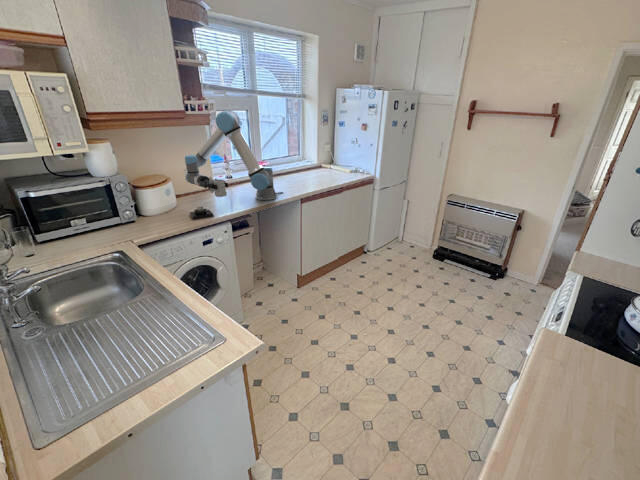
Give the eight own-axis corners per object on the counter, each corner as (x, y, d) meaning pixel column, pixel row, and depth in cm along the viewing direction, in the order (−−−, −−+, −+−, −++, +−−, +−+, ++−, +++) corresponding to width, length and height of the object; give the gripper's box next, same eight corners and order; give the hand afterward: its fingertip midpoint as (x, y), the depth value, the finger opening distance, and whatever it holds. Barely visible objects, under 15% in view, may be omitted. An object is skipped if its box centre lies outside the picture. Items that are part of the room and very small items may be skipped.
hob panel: (209, 212, 210) (208, 206, 208) (213, 216, 202) (212, 210, 201) (190, 215, 204) (189, 209, 202) (193, 220, 196) (192, 213, 195)
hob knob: (203, 209, 204) (203, 206, 204) (205, 211, 201) (204, 208, 200) (196, 210, 202) (195, 207, 201) (197, 212, 199) (197, 209, 198)
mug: (222, 197, 206) (219, 178, 200) (206, 196, 208) (203, 177, 203) (229, 194, 212) (226, 176, 207) (213, 193, 215) (210, 175, 210)
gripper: (216, 183, 227) (236, 189, 214) (189, 189, 212) (209, 195, 200) (214, 173, 223) (234, 177, 211) (187, 177, 209) (207, 183, 196)
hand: (222, 186), depth 205 cm, fingers closed on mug, 7 cm apart
